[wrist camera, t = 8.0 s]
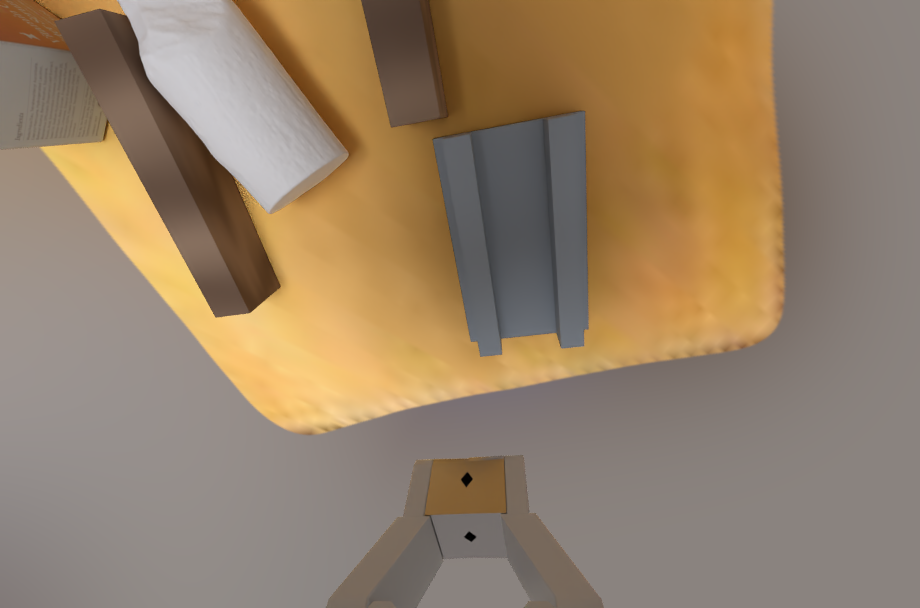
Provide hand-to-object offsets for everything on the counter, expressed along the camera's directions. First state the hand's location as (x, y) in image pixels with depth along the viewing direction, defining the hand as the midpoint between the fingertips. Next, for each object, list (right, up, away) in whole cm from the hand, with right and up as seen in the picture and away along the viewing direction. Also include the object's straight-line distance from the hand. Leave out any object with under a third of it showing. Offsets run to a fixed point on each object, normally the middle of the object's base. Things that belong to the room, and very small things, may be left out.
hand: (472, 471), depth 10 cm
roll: (-12, +17, +11) cm, 24 cm away
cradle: (+4, +9, +14) cm, 17 cm away
